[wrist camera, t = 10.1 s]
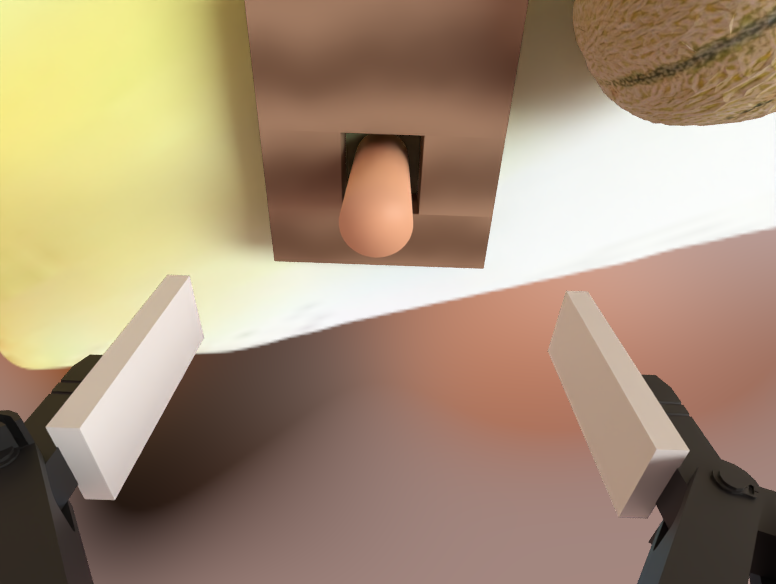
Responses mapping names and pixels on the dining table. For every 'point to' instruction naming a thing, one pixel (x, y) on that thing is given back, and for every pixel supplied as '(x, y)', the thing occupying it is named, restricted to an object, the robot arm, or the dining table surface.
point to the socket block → (384, 115)
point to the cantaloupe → (682, 57)
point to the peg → (378, 198)
